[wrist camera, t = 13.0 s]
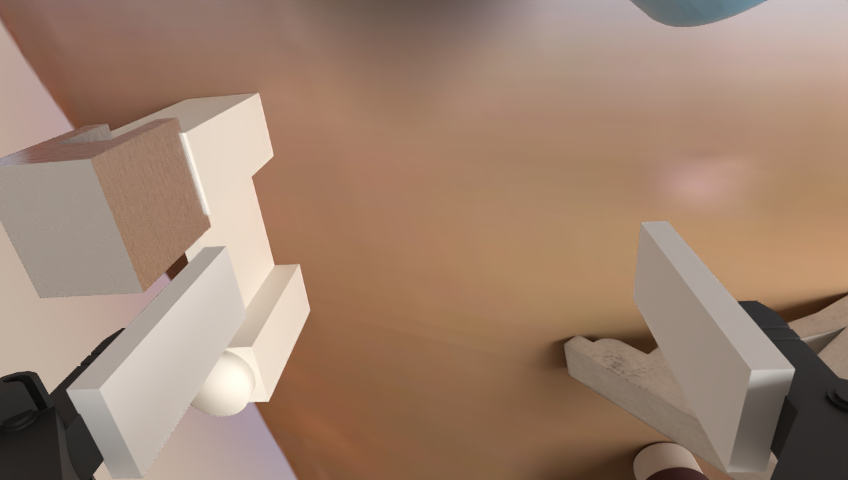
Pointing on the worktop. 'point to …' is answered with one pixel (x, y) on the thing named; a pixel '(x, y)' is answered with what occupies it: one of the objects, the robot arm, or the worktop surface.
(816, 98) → the worktop surface
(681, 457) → the coffee cup
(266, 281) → the white blocky piece
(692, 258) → the robot arm
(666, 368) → the letter a
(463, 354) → the worktop surface
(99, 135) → the pale grey block
